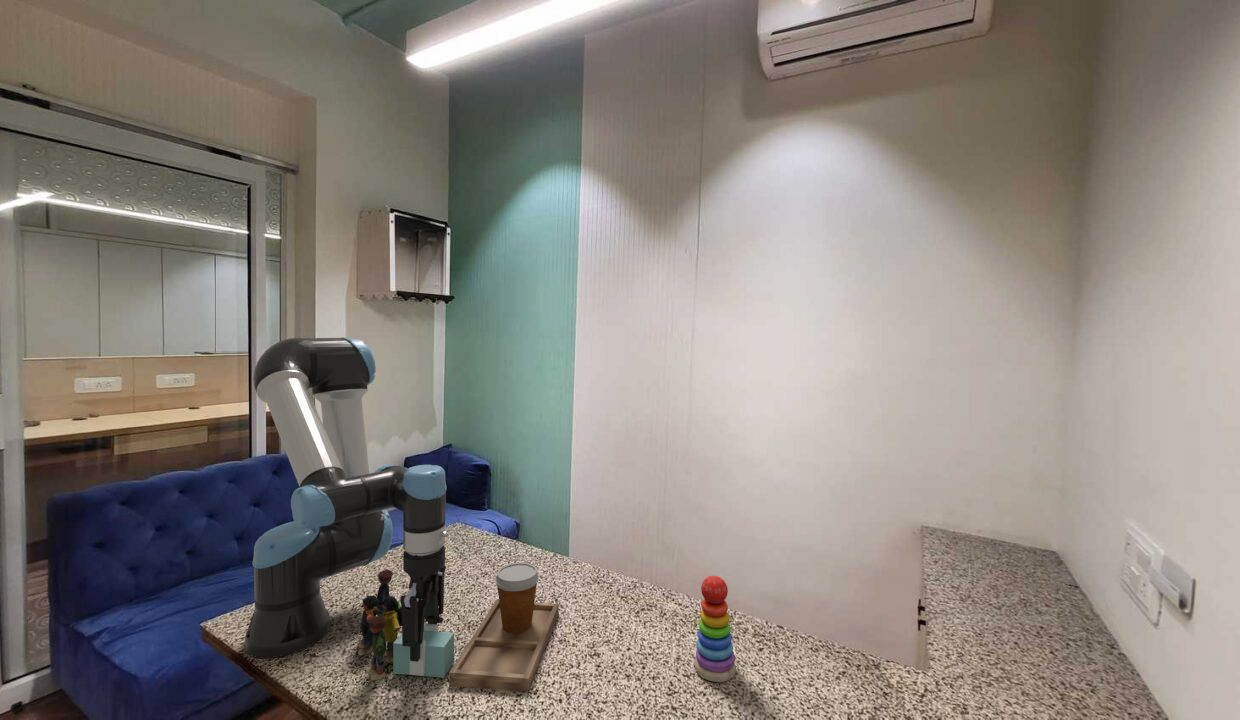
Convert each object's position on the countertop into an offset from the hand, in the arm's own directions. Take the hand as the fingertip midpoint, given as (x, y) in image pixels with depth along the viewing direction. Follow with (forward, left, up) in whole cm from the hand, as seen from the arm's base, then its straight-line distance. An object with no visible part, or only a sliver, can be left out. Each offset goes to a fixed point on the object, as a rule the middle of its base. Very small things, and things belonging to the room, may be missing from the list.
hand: (424, 664), depth 97 cm
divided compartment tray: (+14, +9, -1) cm, 17 cm away
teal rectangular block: (0, 0, -1) cm, 1 cm away
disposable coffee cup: (+14, +14, 0) cm, 20 cm away
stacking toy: (+56, +6, -1) cm, 57 cm away
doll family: (-12, +5, -1) cm, 13 cm away
